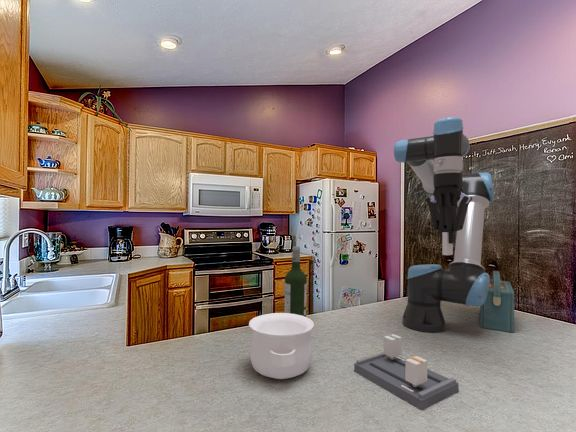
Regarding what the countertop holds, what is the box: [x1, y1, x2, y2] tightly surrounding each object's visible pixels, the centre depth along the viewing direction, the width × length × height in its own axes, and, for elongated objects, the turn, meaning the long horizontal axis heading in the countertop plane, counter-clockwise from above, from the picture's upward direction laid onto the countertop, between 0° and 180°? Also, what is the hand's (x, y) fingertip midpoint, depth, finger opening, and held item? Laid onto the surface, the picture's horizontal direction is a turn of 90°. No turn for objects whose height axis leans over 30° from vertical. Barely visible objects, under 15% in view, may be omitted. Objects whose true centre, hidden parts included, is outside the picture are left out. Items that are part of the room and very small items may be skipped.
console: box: [353, 351, 460, 411], centre depth 79 cm, size 20×14×3 cm
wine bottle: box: [283, 245, 308, 317], centre depth 115 cm, size 8×8×30 cm
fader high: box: [383, 333, 403, 360], centre depth 86 cm, size 3×4×6 cm
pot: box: [248, 312, 315, 380], centre depth 84 cm, size 22×17×12 cm
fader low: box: [405, 355, 428, 388], centre depth 72 cm, size 3×4×6 cm
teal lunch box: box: [479, 270, 515, 333], centre depth 127 cm, size 26×11×20 cm, turn 148°
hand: (447, 254), depth 92 cm, fingers closed
